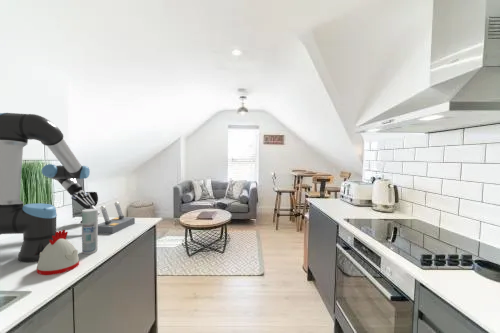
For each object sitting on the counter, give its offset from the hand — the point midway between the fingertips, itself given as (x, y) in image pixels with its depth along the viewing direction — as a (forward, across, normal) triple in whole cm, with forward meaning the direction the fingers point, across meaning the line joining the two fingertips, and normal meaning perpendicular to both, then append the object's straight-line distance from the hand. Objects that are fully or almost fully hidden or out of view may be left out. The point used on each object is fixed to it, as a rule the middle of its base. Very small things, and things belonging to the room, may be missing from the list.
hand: (98, 214), depth 158 cm
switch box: (+12, +7, +2) cm, 14 cm away
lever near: (+9, 0, -1) cm, 9 cm away
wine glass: (-7, +19, +21) cm, 29 cm away
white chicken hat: (+21, -51, -7) cm, 56 cm away
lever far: (+9, +14, -1) cm, 17 cm away
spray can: (+21, -33, -7) cm, 40 cm away
